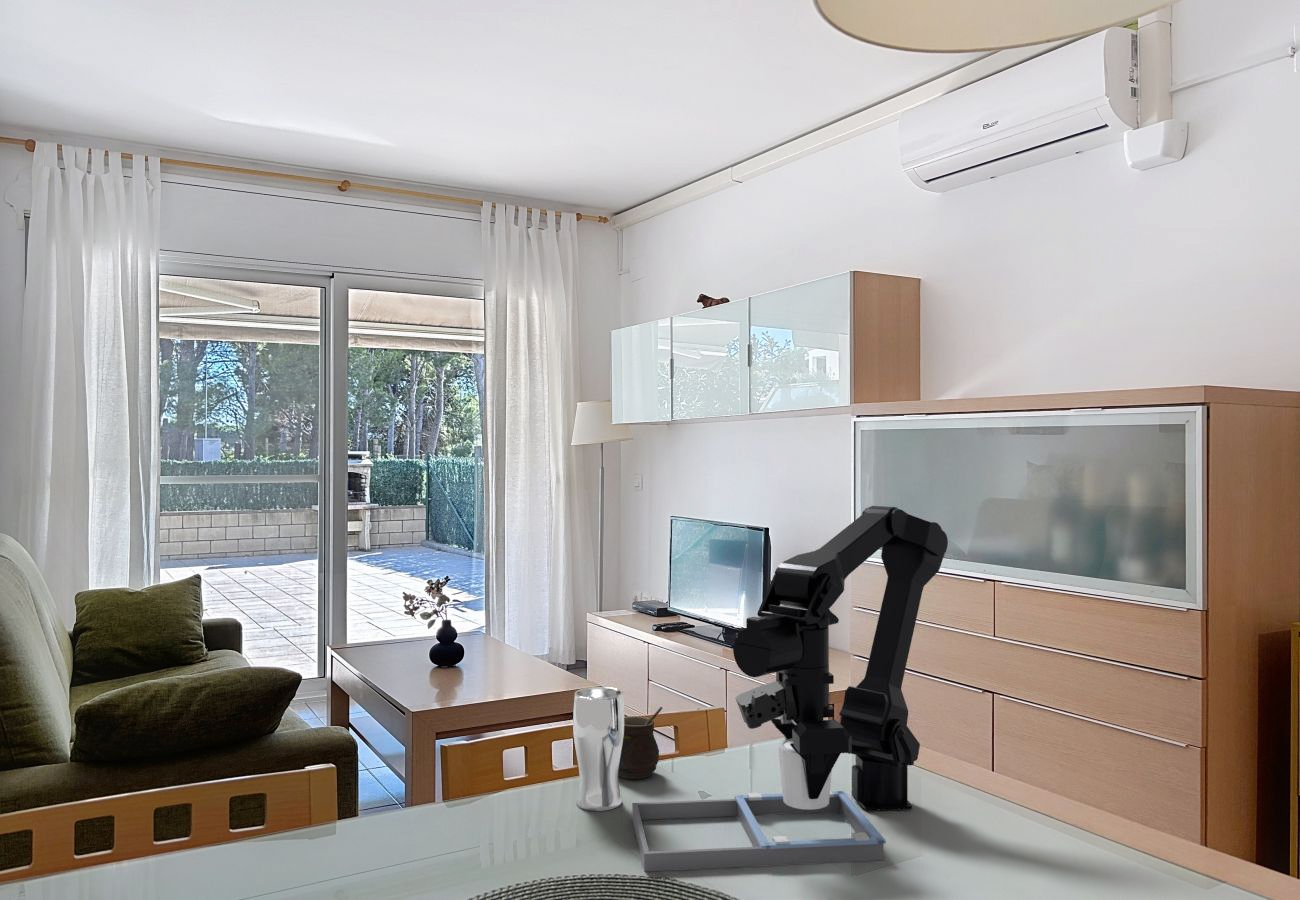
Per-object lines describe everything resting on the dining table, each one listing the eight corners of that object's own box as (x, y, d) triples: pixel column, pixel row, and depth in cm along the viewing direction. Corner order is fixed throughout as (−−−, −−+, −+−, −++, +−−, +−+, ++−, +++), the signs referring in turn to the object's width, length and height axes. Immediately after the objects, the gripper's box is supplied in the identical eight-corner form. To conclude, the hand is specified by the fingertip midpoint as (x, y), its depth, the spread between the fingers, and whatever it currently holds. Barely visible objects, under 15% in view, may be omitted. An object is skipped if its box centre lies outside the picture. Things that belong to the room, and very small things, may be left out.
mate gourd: (605, 769, 147) (606, 702, 147) (654, 765, 149) (655, 699, 149) (615, 784, 140) (616, 714, 140) (666, 781, 142) (667, 711, 142)
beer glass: (627, 794, 136) (627, 686, 136) (621, 813, 129) (621, 699, 129) (578, 793, 137) (577, 685, 137) (569, 811, 130) (568, 698, 130)
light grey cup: (838, 794, 124) (837, 739, 124) (829, 814, 117) (829, 755, 117) (784, 789, 126) (783, 734, 126) (773, 807, 119) (772, 750, 119)
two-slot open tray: (843, 809, 130) (843, 788, 130) (885, 860, 114) (885, 837, 114) (632, 817, 128) (632, 797, 128) (644, 872, 111) (644, 848, 111)
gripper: (727, 649, 130) (728, 767, 130) (757, 683, 111) (758, 821, 112) (809, 647, 131) (810, 763, 131) (853, 680, 113) (853, 816, 113)
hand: (806, 789), depth 122 cm, fingers closed on light grey cup, 6 cm apart
